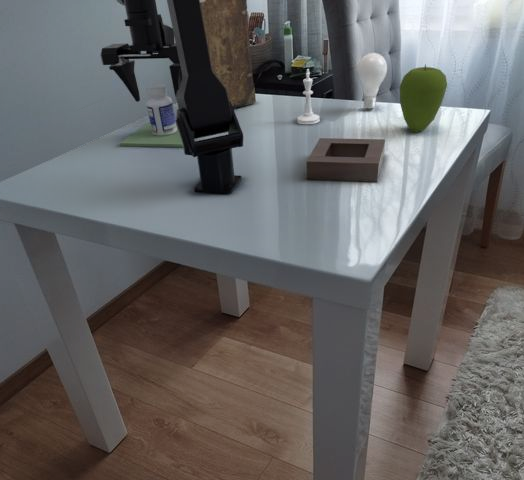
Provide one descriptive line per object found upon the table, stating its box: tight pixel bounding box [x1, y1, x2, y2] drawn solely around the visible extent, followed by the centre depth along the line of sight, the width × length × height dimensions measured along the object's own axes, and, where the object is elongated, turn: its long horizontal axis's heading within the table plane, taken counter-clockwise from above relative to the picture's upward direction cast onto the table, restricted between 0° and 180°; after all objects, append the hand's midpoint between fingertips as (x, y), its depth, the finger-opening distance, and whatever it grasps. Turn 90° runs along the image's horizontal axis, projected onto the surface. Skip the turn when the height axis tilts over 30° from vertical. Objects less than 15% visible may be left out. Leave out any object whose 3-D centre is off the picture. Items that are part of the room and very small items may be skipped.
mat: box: [119, 121, 183, 148], centre depth 108 cm, size 14×14×1 cm
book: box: [200, 0, 257, 109], centre depth 113 cm, size 17×7×25 cm, turn 126°
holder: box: [306, 137, 386, 183], centre depth 86 cm, size 12×12×3 cm
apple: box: [399, 64, 448, 133], centre depth 96 cm, size 9×8×12 cm
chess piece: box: [296, 68, 320, 125], centre depth 106 cm, size 5×5×10 cm
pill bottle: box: [145, 84, 177, 136], centre depth 105 cm, size 5×5×9 cm
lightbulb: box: [356, 52, 388, 111], centre depth 109 cm, size 6×6×11 cm
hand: (158, 101), depth 104 cm, fingers open, 9 cm apart
